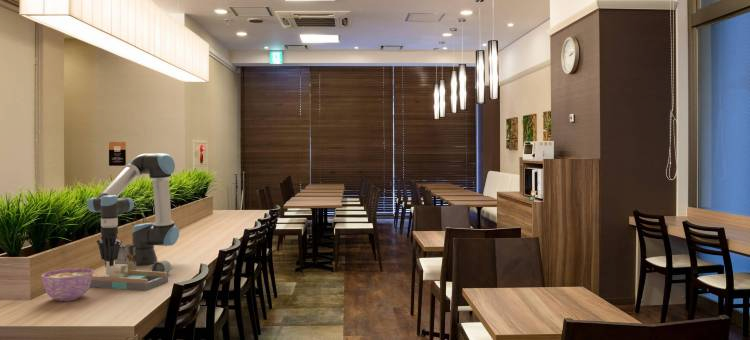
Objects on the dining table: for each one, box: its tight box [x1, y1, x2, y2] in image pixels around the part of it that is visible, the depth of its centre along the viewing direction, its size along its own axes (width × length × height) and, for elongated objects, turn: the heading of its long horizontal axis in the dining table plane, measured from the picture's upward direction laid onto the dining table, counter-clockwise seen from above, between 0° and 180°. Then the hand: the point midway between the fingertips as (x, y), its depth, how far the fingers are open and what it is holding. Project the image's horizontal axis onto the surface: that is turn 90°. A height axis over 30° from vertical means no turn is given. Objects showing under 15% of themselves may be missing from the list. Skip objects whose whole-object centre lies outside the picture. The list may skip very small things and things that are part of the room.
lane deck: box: [89, 269, 169, 291], centre depth 260 cm, size 18×32×5 cm, turn 77°
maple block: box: [109, 264, 128, 278], centre depth 261 cm, size 6×6×6 cm
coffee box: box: [114, 243, 137, 270], centre depth 277 cm, size 9×6×16 cm
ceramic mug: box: [150, 260, 172, 274], centre depth 280 cm, size 11×8×8 cm
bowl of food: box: [41, 267, 94, 302], centre depth 233 cm, size 20×20×12 cm
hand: (109, 273), depth 262 cm, fingers closed
